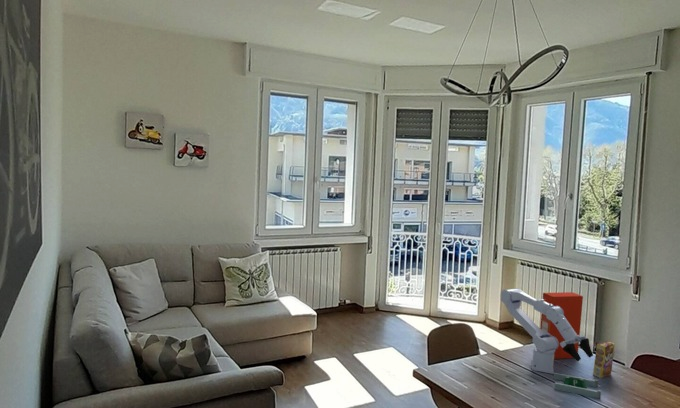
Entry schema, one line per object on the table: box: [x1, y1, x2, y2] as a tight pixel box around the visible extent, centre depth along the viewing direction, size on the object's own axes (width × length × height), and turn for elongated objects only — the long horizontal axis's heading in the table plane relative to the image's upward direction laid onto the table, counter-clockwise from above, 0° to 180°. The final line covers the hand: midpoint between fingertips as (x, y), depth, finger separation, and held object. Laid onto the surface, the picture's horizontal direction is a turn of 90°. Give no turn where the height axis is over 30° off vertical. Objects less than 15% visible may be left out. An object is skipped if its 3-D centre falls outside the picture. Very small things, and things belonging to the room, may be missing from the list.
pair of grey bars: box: [553, 371, 602, 399], centre depth 212 cm, size 18×12×3 cm
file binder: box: [539, 291, 584, 360], centre depth 247 cm, size 8×17×32 cm, turn 103°
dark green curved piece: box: [563, 376, 588, 389], centre depth 212 cm, size 9×4×6 cm
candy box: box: [592, 340, 616, 379], centre depth 226 cm, size 9×4×15 cm, turn 123°
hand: (585, 358), depth 212 cm, fingers open, 7 cm apart
